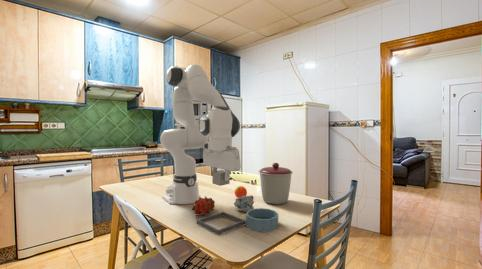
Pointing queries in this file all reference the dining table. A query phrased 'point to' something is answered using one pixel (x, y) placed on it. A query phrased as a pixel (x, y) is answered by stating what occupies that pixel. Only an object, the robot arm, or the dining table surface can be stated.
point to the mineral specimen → (244, 203)
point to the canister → (275, 184)
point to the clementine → (240, 191)
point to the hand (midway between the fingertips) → (221, 179)
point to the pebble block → (219, 178)
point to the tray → (219, 231)
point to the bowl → (262, 219)
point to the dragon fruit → (203, 206)
